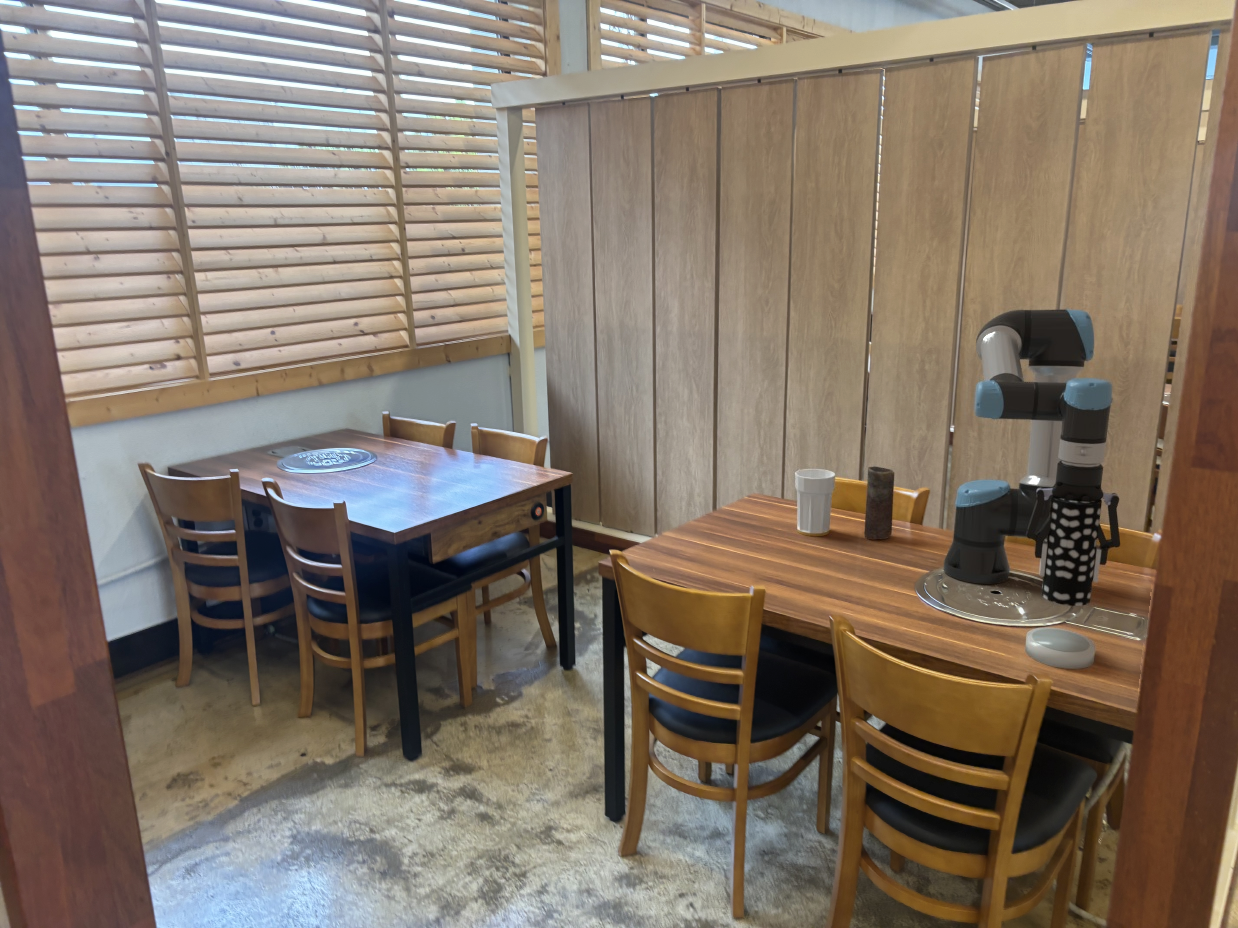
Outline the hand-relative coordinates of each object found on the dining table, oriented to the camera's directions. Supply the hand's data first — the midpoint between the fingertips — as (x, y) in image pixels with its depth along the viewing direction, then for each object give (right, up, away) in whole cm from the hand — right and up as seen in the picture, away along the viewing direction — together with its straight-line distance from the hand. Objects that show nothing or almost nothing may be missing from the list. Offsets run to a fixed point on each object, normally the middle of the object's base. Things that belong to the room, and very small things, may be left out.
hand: (1067, 576), depth 159 cm
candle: (-13, +1, +75) cm, 76 cm away
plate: (0, -16, +4) cm, 16 cm away
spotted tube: (0, -4, +1) cm, 5 cm away
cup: (-30, +2, +81) cm, 87 cm away
